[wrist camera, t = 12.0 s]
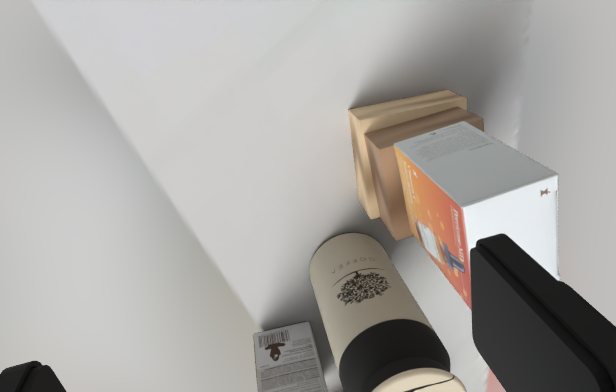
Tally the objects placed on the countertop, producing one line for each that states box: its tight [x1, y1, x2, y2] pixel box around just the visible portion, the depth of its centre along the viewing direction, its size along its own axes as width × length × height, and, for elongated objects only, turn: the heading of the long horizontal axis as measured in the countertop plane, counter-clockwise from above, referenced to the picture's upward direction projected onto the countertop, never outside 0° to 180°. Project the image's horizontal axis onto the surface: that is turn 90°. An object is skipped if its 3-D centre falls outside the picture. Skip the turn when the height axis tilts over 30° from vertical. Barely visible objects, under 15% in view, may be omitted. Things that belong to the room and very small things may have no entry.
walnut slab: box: [364, 107, 484, 241], centre depth 36 cm, size 8×8×4 cm
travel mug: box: [309, 233, 467, 392], centre depth 38 cm, size 8×8×18 cm
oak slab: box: [348, 90, 467, 219], centre depth 40 cm, size 9×9×4 cm
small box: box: [394, 121, 560, 310], centre depth 30 cm, size 8×6×10 cm
